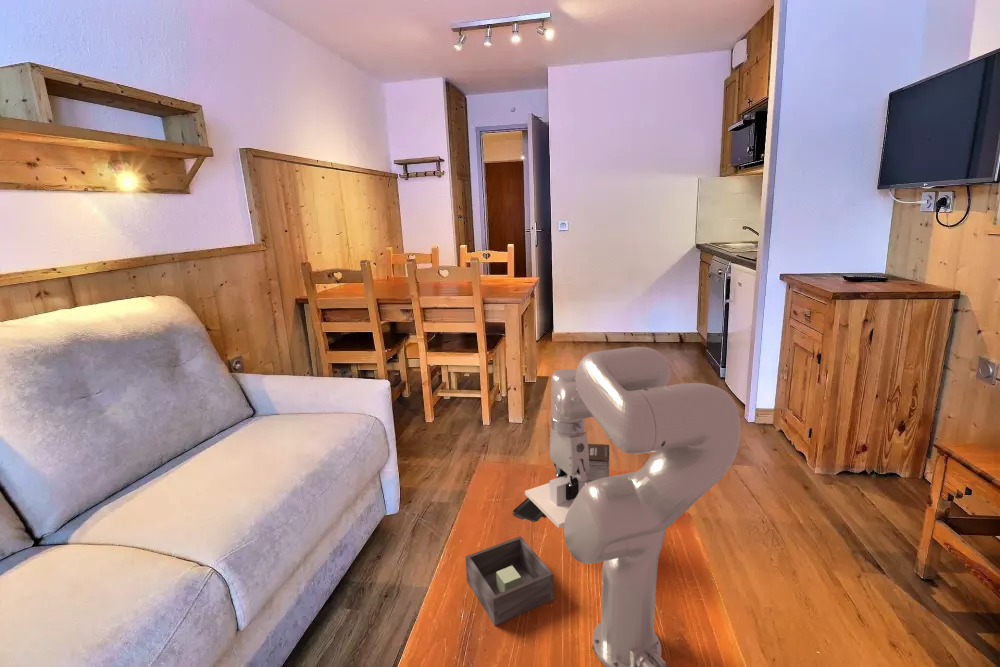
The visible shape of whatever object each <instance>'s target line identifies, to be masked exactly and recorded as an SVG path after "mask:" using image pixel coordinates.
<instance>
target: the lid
mask: <svg viewBox="0 0 1000 667" xmlns="http://www.w3.org/2000/svg"><path fill="white" fill-rule="evenodd" d="M573 478H575V476H574V477H572V479H573ZM567 484H568V480H567V475H565V476H562V477H559V478H557V477H556V478H553V479H550V480H549V482H547V483H545V484H541V485H539V486H536V487H533V488H529V489H526V490H524V495H525V496H526V497H527V498H529V499H530V500H531V501H532V502H533V503H534V504H535V505H536V506H537V507H538V508H539V509H540V510H541V511H542V512H543V513H544V514H545V516H546V517H547V518H548V520H549V521H551V523H553V524H554V525H555V527H557V529H561V528H564V523H565V518H566V515H567V512H568V510H569V508H570V506H571V505H572V503H573V501H574V500H575V498H574V499H571V500H569V501H568V500H567V499H566V485H567ZM584 485H586V483H585V482H584V483H579V491H580V490H581V489H582V487H583V486H584Z"/></svg>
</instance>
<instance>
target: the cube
mask: <svg viewBox="0 0 1000 667" xmlns="http://www.w3.org/2000/svg"><path fill="white" fill-rule="evenodd" d="M496 581H497V588H498V590H499V591H500V593H501V592H504V591H506V590H508V589H511V588H513V587H516V586H518V585H520V584H521V576H520V575H519V574H518V572H517V571H516V570H515V568H514V567H513V566H509V567H507V568H504V569H502V570H499V571H497V572H496Z"/></svg>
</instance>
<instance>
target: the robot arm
mask: <svg viewBox="0 0 1000 667" xmlns="http://www.w3.org/2000/svg"><path fill="white" fill-rule="evenodd" d="M670 378H671V367H670V364H669V361H668V359H667V358H666V357H665V355H663V354H662V353H661V352H660V351H658V350H656V349H653V348H651V347H646V346H630V347H623V348H622V347H621V348H614V349H608V350H598V351H593V352H590V353H587V354H586V355H584V356H583V358H581V359H580V361H579V363H578V364H577V367H576V369H573V368H562V369H558V370H555V371H554V372H553V374H551V379H550V396H551V397H550V401H551V403H550V405H551V406H550V407H551V410H550V421H551V424H550V426H551V427H550V428H551V429H550V432H549V433H550V436H549V458H550V460H551V462H553V466H554V468H555V476H556V478H559V477H562V476H565V475H567V480H568V484H567V485H566V499H567V500H568V501H569V500H571V499H574V498H575V500H574V501H573V503H572V505H571V506H570V508H569V510H568V512H567V515H566V518H565V523H564V527H563V536H564V541H565V544H566V547H567V550H568V551H569V553H570V554H571V556H572V557H573V558H574V559H575V560H576V561H577V562H580V563H581V564H585V565H592V564H593V565H594V564H598V563H602V570H601V571H602V572H601V573H602V574H601V581H602V582H601V616H600V617H601V619H600V620H601V621H600V622H599V623H598V624H597V625H596V626H595V627H594V630H593V633H592V647H593V651H594V654H595V655H596V656H597V658H598V660H599V661H600V662H601V664H603V665H604V666H605V667H666V666H667V662H666V661H665V660H664V659H663V658H662V644H661V641H660V639H659V637H658V635H657V634H656V632H655V630H654V629H655V611H656V593H657V582H658V581H657V578H658V566H659V560H660V555H661V552H662V549H663V544H664V542H665V537H666V530H667V529H668V528H669V527H671V526H672V525H674V523H675V522H676V521H677V520H678V519H679V518H680V517H681V516H682V515H683V514H684V513H686V512H687V511H688V510H689V509H690V508H691V507H692V506H693V505H694V504H695V503H696V502H697V501H698V500H699V499H700V498H701V497H702V496H704V495H705V493H707V492H708V491H709V490H710V489H711V488H713V487H714V486H715V485H716V484H717V483H718V482H719V481H720V480H721V479H722V478H723V477H724V476H725V475H726V473H728V470H729V469H730V468H731V466H732V464H733V463H734V460H735V459H736V456H737V453H738V451H739V446H740V443H741V442H740V441H741V417H740V414H739V409H738V407H737V404H736V403H735V400H734V399H733V397H732V396H731V395H730V393H728V392H727V391H725V390H724V389H722V388H720V387H718V386H715V385H712V384H710V383H704V382H703V383H701V382H688V383H687V382H684V383H677V384H670V385H668V384H669V381H670ZM587 418H594V419H595V421H596V422H597V424H598V425H599V426H600V427H601V429H602V430H603V431H604V433H605V434H606V436H607V437H608V438H609V440H610V441H611V443H612V444H614V445H615V447H616V448H618V449H619V450H620V451H622V452H623V453H627V454H630V455H631V454H632V455H643V454H647V453H648V454H650V453H653V454H652V455H650V457H649V458H648V459H647V461H646V462H645V463H644V465H643V466H642V467H641V468H640V469H639V470H638V469H637V470H635V471H632V472H626V473H621V474H618V475H617V474H616V475H611V476H610V475H609V477H605V478H600V479H597V480H593V481H591V482H589V483H587V484H586V485H584V486H583V487H582V489H581V490H580V491H579V483H584V482H586V481H587V479H586V475H585V472H588V471H589V451H588V444H589V442H588V436H587V433H586V432H585V431H586V430H585V425H586V424H585V421H586V420H585V419H587ZM574 476H575V478H573V479H572V477H574Z"/></svg>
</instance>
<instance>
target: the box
mask: <svg viewBox="0 0 1000 667" xmlns="http://www.w3.org/2000/svg"><path fill="white" fill-rule="evenodd" d="M509 566H513V567H514V568H515V570H516V571H517V572H518V574H519V575H520V576H521V584H520V585H518V586H516V587H513V588H511V589H508V590H506V591H504V592H501V593H500V591H499V590H498V588H497V581H496V572H497V571H499V570H502V569H504V568H507V567H509ZM465 571H466V581H467V583H468V585H469V587H470V588H471V589H472V592H473V593H474V595H475V597H476V598H477V599H478V601H479V603H480V605H481V607H482V608H483V610H484V611H485V613H486V614H487V615H488V618H489V619H490V620H491V621H490V622H491V623H492V624H493V626H498V625H500V624H502V623H504V622H507V621H509V620H511V619H513V618H516V617H518V616H520V615H522V614H525V613H527V612H529V611H531V610H533V609H536V608H538V607H540V606H542V605H544V604H547V603H549V602H552V601H554V597H555V596H554V572H552V570H551V569H550V568H549V567H548V566H547V565H546V564H545V562H544V561H543V560H542V559H541V558H540V556H538V554H537V553H536V552H535V551H534V550H533V549H532V548H531V546H530V545H529V544H528V543H527V541H525V539H524V538H523V537H522V536H521V535H519V536H516V537H514V538H511V539H509V540H506V541H503V542H500V543H498V544H496V545H493V546H490V547H487V548H484V549H481V550H479V551H476V552H474V553H471V554H469V555H466V556H465Z"/></svg>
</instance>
